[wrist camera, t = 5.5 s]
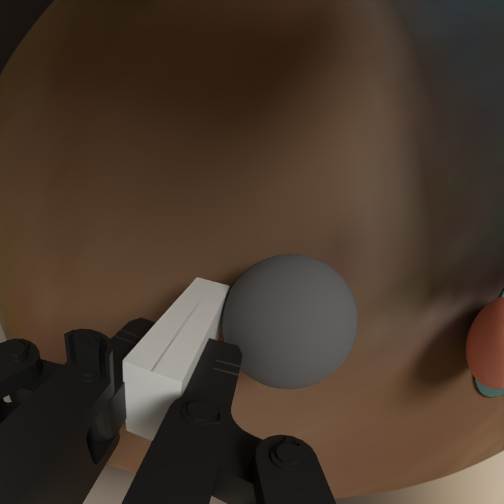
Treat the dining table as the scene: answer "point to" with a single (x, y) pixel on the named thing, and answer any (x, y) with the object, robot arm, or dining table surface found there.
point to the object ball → (487, 345)
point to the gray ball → (290, 321)
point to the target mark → (486, 390)
